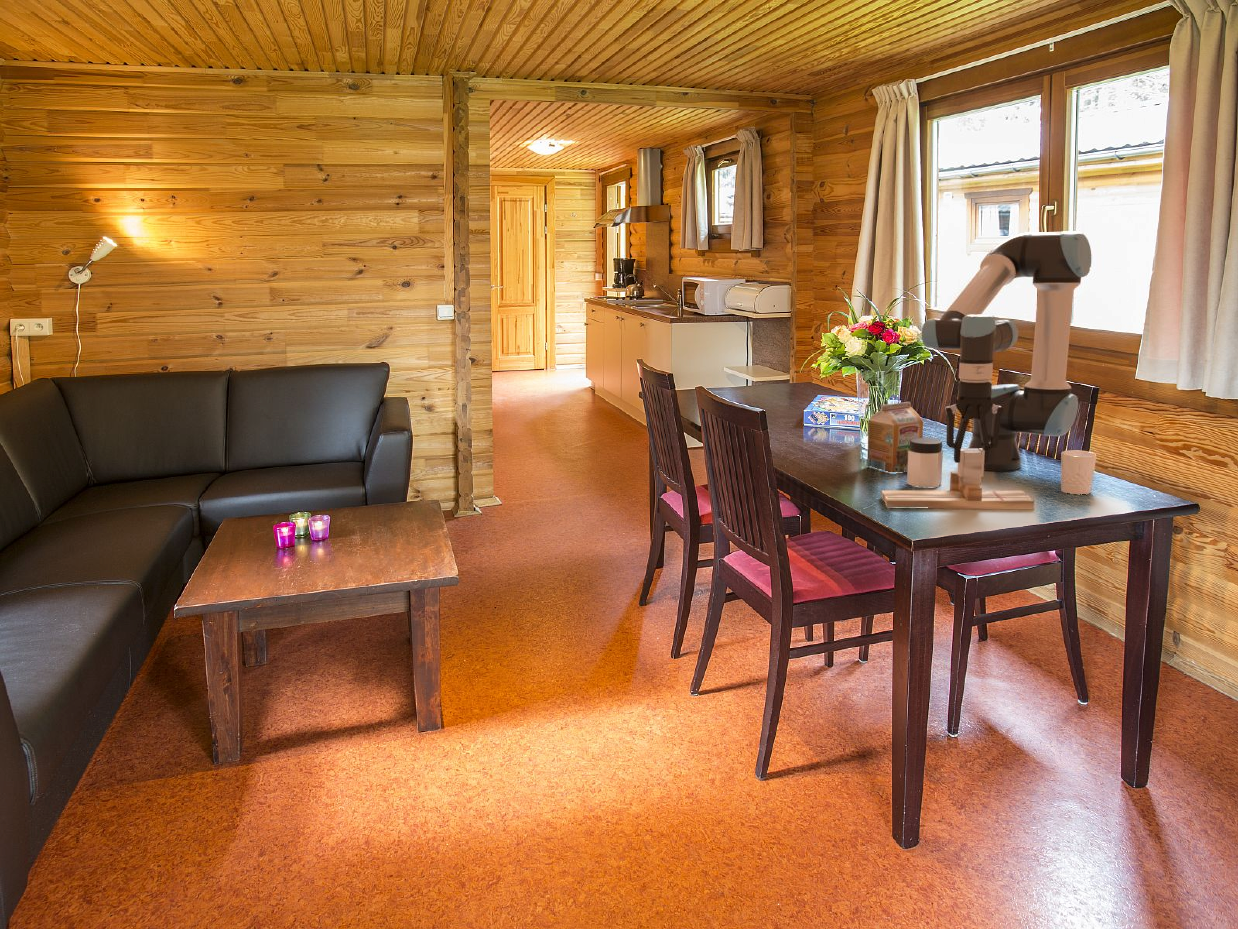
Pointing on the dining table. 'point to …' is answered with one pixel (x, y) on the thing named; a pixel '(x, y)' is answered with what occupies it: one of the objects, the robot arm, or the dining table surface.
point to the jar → (925, 462)
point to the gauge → (969, 476)
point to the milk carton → (892, 436)
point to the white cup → (1077, 471)
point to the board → (956, 499)
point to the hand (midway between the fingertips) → (970, 475)
